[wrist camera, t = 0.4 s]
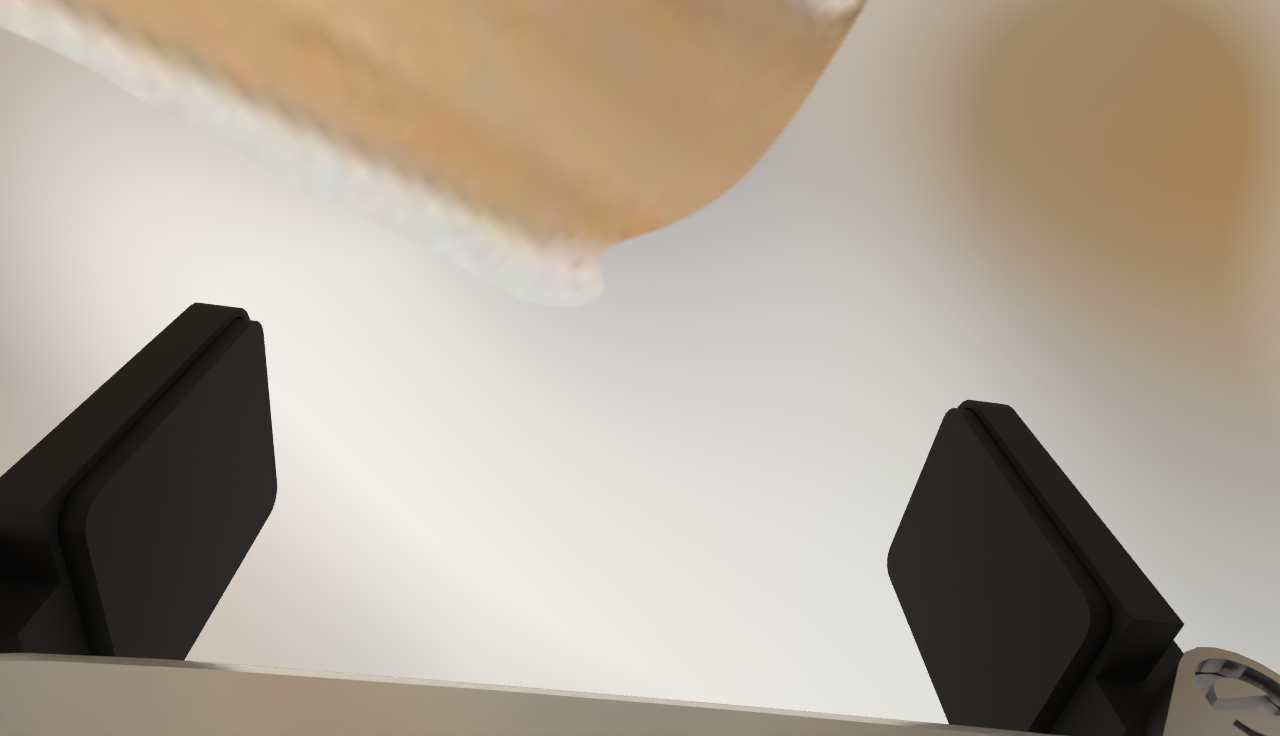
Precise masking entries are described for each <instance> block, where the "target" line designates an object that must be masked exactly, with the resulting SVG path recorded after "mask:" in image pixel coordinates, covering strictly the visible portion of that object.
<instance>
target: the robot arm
mask: <svg viewBox="0 0 1280 736" xmlns="http://www.w3.org/2000/svg"><path fill="white" fill-rule="evenodd" d="M276 493H277V478H276V467H275V456H274V445H273V433H272V422H271V411H270V400H269V390H268V378H267V367H266V356H265V344H264V334H263V328H262V326H261V324H260V323H259V322H258V321H252V320H250V319H249V316H248V314H247V312H246V311H245V310H244V309H243V308H236V307H228V306H220V305H212V304H204V303H194V304H193V305H191V306H189V307H188V308H187V309H186V310H185V311H184V312H183V313H182V314H181V315H180V316H178V317H177V318H176V319H175V320H174V321H173V322H172V323H171V324H170V325H168V326H167V327H166V328H165V329H164V330H163V331H162V332H161V333H159V334H158V335H157V336H156V337H155V338H154V339H153V340H152V341H151V342H150V343H148V344H147V345H146V346H145V347H144V348H143V349H142V350H141V351H140V352H139V353H137V354H136V355H135V356H134V357H133V358H132V359H131V360H130V361H129V362H127V363H126V364H125V365H124V366H123V367H122V368H121V369H120V370H119V371H118V372H116V374H114V375H113V376H112V377H111V378H110V379H109V380H108V381H106V382H105V383H104V384H103V385H102V386H101V387H100V388H99V389H98V390H96V391H95V392H94V393H93V394H92V395H91V396H90V397H89V398H88V399H87V400H86V401H84V402H83V403H82V404H81V405H80V406H79V407H78V408H77V409H75V410H74V411H73V412H72V413H71V414H70V415H69V416H68V417H67V418H65V420H63V421H62V422H61V423H60V424H59V425H58V426H57V427H56V428H55V429H53V430H52V431H51V432H50V433H49V434H48V435H47V436H46V437H44V438H43V439H42V440H41V441H40V442H39V443H38V444H37V445H36V446H34V447H33V448H32V449H31V450H30V451H29V452H28V453H27V454H26V455H25V456H24V457H22V458H21V459H20V460H19V461H18V462H17V463H16V464H15V465H13V466H12V467H11V468H10V469H9V470H8V471H7V472H6V473H5V474H3V475H2V476H1V477H0V736H1280V675H1278V674H1277V673H1275V672H1273V671H1272V670H1270V669H1269V668H1267V667H1265V666H1264V665H1262V664H1260V663H1258V662H1256V661H1253V660H1251V659H1249V658H1247V657H1244V656H1242V655H1240V654H1237V653H1234V652H1230V651H1226V650H1223V649H1219V648H1211V647H1197V648H1194V649H1192V650H1189V651H1187V652H1185V653H1183V652H1182V651H1181V649H1180V648H1179V647H1178V646H1177V644H1176V643H1175V642H1174V638H1175V637H1176V635H1177V634H1178V632H1179V631H1180V630H1181V628H1182V627H1183V625H1184V623H1183V622H1182V621H1181V619H1180V618H1179V617H1178V616H1177V614H1176V613H1175V612H1174V611H1173V609H1172V608H1171V607H1170V606H1169V605H1168V603H1167V602H1166V600H1165V599H1164V598H1163V597H1162V595H1161V594H1160V593H1159V592H1158V591H1157V589H1156V588H1155V587H1154V585H1153V584H1152V583H1151V582H1150V580H1149V579H1148V578H1147V577H1146V575H1145V574H1144V573H1143V572H1142V570H1141V569H1140V568H1139V567H1138V565H1137V564H1136V563H1135V561H1134V560H1133V559H1132V558H1131V556H1130V555H1129V554H1128V553H1127V552H1126V550H1125V549H1124V548H1123V546H1122V545H1121V544H1120V543H1119V541H1118V540H1117V539H1116V538H1115V536H1114V535H1113V534H1112V533H1111V531H1110V530H1109V529H1108V528H1107V527H1106V525H1105V524H1104V523H1103V521H1102V520H1101V519H1100V517H1099V516H1098V515H1097V514H1096V512H1095V511H1094V510H1093V509H1092V507H1091V506H1090V505H1089V504H1088V502H1087V501H1086V500H1085V499H1084V497H1083V496H1082V495H1081V494H1080V492H1079V491H1078V490H1077V489H1076V487H1075V486H1074V485H1073V484H1072V482H1071V481H1070V480H1069V479H1068V477H1067V476H1066V475H1065V474H1064V472H1063V471H1062V470H1061V468H1060V467H1059V466H1058V465H1057V463H1056V462H1055V461H1054V460H1053V459H1052V457H1051V456H1050V455H1049V453H1048V452H1047V451H1046V450H1045V448H1043V446H1042V445H1041V444H1040V442H1039V441H1038V440H1037V438H1036V437H1035V436H1034V434H1033V433H1032V432H1031V431H1030V429H1029V428H1028V427H1027V426H1026V424H1025V423H1024V422H1023V421H1022V419H1021V418H1020V417H1019V416H1018V414H1017V413H1016V412H1015V411H1014V409H1013V408H1011V407H1010V406H1009V405H1005V404H998V403H989V402H981V401H974V400H966V401H964V402H962V404H960V406H958V408H952V409H950V410H949V411H948V412H947V413H946V414H945V416H944V418H943V420H942V423H941V425H940V428H939V430H938V433H937V435H936V437H935V440H934V442H933V445H932V447H931V450H930V452H929V454H928V457H927V459H926V462H925V464H924V467H923V469H922V471H921V474H920V476H919V479H918V481H917V483H916V486H915V488H914V491H913V493H912V496H911V498H910V501H909V503H908V505H907V508H906V510H905V513H904V515H903V517H902V520H901V522H900V525H899V527H898V530H897V532H896V534H895V537H894V539H893V542H892V544H891V547H890V549H889V553H888V558H887V568H888V574H889V577H890V580H891V582H892V585H893V587H894V589H895V592H896V594H897V597H898V599H899V602H900V604H901V607H902V609H903V612H904V614H905V617H906V619H907V622H908V624H909V626H910V628H911V631H912V634H913V636H914V639H915V641H916V644H917V646H918V649H919V651H920V654H921V656H922V658H923V661H924V663H925V666H926V668H927V671H928V673H929V676H930V678H931V681H932V683H933V686H934V688H935V690H936V693H937V695H938V697H939V700H940V703H941V705H942V708H943V710H944V713H945V715H946V717H947V720H948V723H949V724H938V723H927V722H916V721H905V720H894V719H882V718H872V717H861V716H849V715H839V714H828V713H817V712H806V711H795V710H784V709H773V708H761V707H750V706H739V705H727V704H715V703H704V702H692V701H680V700H669V699H657V698H646V697H634V696H622V695H609V694H598V693H586V692H575V691H563V690H551V689H539V688H526V687H515V686H503V685H490V684H478V683H464V682H452V681H440V680H427V679H415V678H403V677H390V676H377V675H364V674H352V673H339V672H326V671H315V670H302V669H289V668H277V667H264V666H249V665H237V664H223V663H209V662H196V661H184V660H185V658H186V656H187V655H188V653H189V651H190V649H191V648H192V646H193V644H194V643H195V641H196V639H197V637H198V636H199V634H200V632H201V631H202V629H203V627H204V626H205V624H206V622H207V620H208V619H209V617H210V615H211V614H212V612H213V610H214V609H215V607H216V605H217V604H218V602H219V600H220V598H221V597H222V595H223V593H224V592H225V590H226V588H227V586H228V585H229V583H230V581H231V580H232V578H233V576H234V575H235V573H236V571H237V569H238V568H239V566H240V564H241V563H242V561H243V559H244V558H245V556H246V554H247V552H248V551H249V549H250V547H251V546H252V544H253V542H254V540H255V539H256V537H257V535H258V534H259V532H260V530H261V529H262V527H263V525H264V524H265V522H266V520H267V518H268V517H269V515H270V513H271V511H272V509H273V506H274V503H275V499H276Z"/></svg>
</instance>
